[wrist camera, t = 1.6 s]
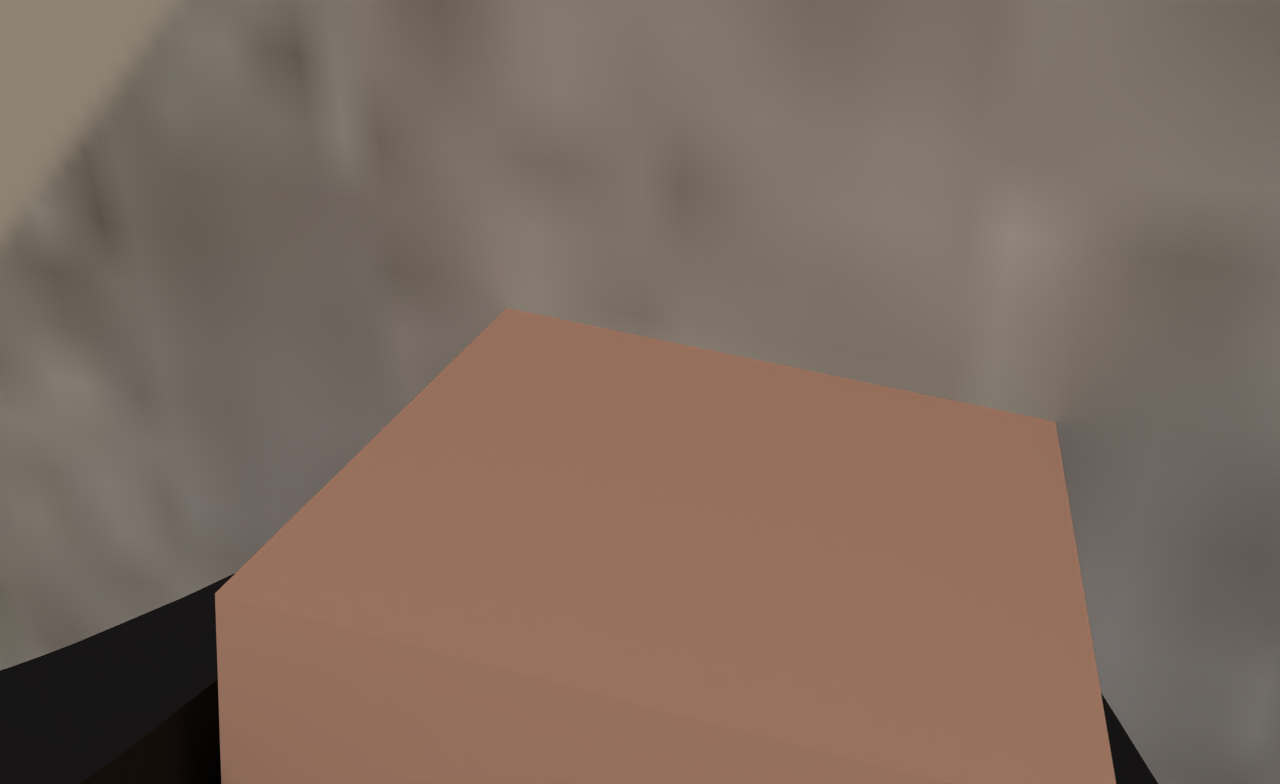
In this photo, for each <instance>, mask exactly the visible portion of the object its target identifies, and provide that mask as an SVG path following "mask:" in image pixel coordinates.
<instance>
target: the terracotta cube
mask: <svg viewBox="0 0 1280 784" xmlns="http://www.w3.org/2000/svg"><path fill="white" fill-rule="evenodd" d="M215 610H216V640H217V670H218V699H219V729H220V759H221V784H1116V780H1115V774H1114V768H1113V762H1112V756H1111V750H1110V744H1109V738H1108V732H1107V726H1106V720H1105V714H1104V708H1103V702H1102V696H1101V690H1100V684H1099V678H1098V672H1097V666H1096V660H1095V654H1094V649H1093V643H1092V637H1091V631H1090V625H1089V619H1088V613H1087V607H1086V601H1085V595H1084V589H1083V583H1082V577H1081V571H1080V565H1079V559H1078V553H1077V547H1076V541H1075V535H1074V529H1073V523H1072V517H1071V511H1070V506H1069V500H1068V494H1067V488H1066V482H1065V476H1064V470H1063V464H1062V458H1061V452H1060V446H1059V440H1058V434H1057V428H1056V422H1054V421H1049V420H1044V419H1039V418H1034V417H1029V416H1025V415H1020V414H1015V413H1010V412H1005V411H1001V410H996V409H991V408H986V407H981V406H976V405H972V404H967V403H962V402H957V401H952V400H947V399H943V398H938V397H933V396H928V395H923V394H918V393H914V392H909V391H904V390H899V389H894V388H890V387H885V386H880V385H875V384H870V383H865V382H861V381H856V380H851V379H846V378H841V377H836V376H832V375H827V374H822V373H817V372H812V371H807V370H803V369H798V368H793V367H788V366H783V365H778V364H774V363H769V362H764V361H759V360H754V359H750V358H745V357H740V356H735V355H730V354H725V353H721V352H716V351H711V350H706V349H701V348H696V347H692V346H687V345H682V344H677V343H672V342H667V341H663V340H658V339H653V338H648V337H643V336H638V335H634V334H629V333H624V332H619V331H614V330H610V329H605V328H600V327H595V326H590V325H585V324H581V323H576V322H571V321H566V320H561V319H556V318H552V317H547V316H542V315H537V314H532V313H527V312H523V311H518V310H513V309H508V308H506V309H505V310H504V311H503V312H502V313H501V314H500V315H499V316H498V317H497V318H496V319H495V320H494V321H493V322H492V323H491V324H490V325H489V326H488V327H487V328H486V329H485V330H484V331H483V332H482V333H481V334H480V335H479V336H478V337H477V338H476V339H475V340H474V341H473V342H471V343H470V344H469V345H468V346H467V347H466V348H465V349H464V350H463V351H462V352H461V353H460V354H459V355H458V356H457V357H456V358H455V359H454V360H453V361H452V362H451V363H450V364H449V365H448V366H447V367H446V368H445V369H444V370H443V371H442V372H441V373H440V374H439V375H438V376H437V377H436V378H435V379H434V380H433V381H432V382H431V383H430V384H429V385H428V386H427V387H425V388H424V389H423V390H422V391H421V392H420V393H419V394H418V395H417V396H416V397H415V398H414V399H413V400H412V401H411V402H410V403H409V404H408V405H407V406H406V407H405V408H404V409H403V410H402V411H401V412H400V413H399V414H398V415H397V416H396V417H395V418H394V419H393V420H392V421H391V422H390V423H389V424H388V425H387V426H386V427H385V428H384V429H383V430H382V431H380V432H379V433H378V434H377V435H376V436H375V437H374V438H373V439H372V440H371V441H370V442H369V443H368V444H367V445H366V446H365V447H364V448H363V449H362V450H361V451H360V452H359V453H358V454H357V455H356V456H355V457H354V458H353V459H352V460H351V461H350V462H349V463H348V464H347V465H346V466H345V467H344V468H343V469H342V470H341V471H340V472H339V473H338V474H337V475H336V476H334V477H333V478H332V479H331V480H330V481H329V482H328V483H327V484H326V485H325V486H324V487H323V488H322V489H321V490H320V491H319V492H318V493H317V494H316V495H315V496H314V497H313V498H312V499H311V500H310V501H309V502H308V503H307V504H306V505H305V506H304V507H303V508H302V509H301V510H300V511H299V512H298V513H297V514H296V515H295V516H294V517H293V518H292V519H291V520H290V521H288V522H287V523H286V524H285V525H284V526H283V527H282V528H281V529H280V530H279V531H278V532H277V533H276V534H275V535H274V536H273V537H272V538H271V539H270V540H269V541H268V542H267V543H266V544H265V545H264V546H263V547H262V548H261V549H260V550H259V551H258V552H257V553H256V554H255V555H254V556H253V557H252V558H251V559H250V560H249V561H248V562H247V563H246V564H245V565H244V566H242V567H241V568H240V569H239V570H238V571H237V572H236V573H235V574H234V575H233V576H232V577H231V578H230V579H229V580H228V581H227V582H226V583H225V584H224V585H223V586H222V587H221V588H220V589H219V590H218V591H217V592H216V593H215Z"/></svg>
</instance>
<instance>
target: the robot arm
mask: <svg viewBox="0 0 1280 784" xmlns="http://www.w3.org/2000/svg"><path fill="white" fill-rule="evenodd" d="M234 574H235V573H234ZM234 574H232V575H230V576H228V577H226V578H224V579H222V580H220V581H218V582H216V583H213V584H211V585H209V586H207V587H205V588H203V589H201V590H199V591H197V592H194V593H192V594H190V595H188V596H186V597H183V598H181V599H179V600H176V601H174V602H172V603H169V604H167V605H165V606H162V607H160V608H158V609H155V610H153V611H150V612H148V613H146V614H143V615H141V616H139V617H136V618H134V619H132V620H129V621H127V622H125V623H122V624H120V625H117V626H115V627H113V628H110V629H108V630H106V631H103V632H101V633H99V634H96V635H94V636H92V637H89V638H87V639H84V640H82V641H80V642H77V643H75V644H72V645H70V646H67V647H64V648H62V649H59V650H57V651H54V652H51V653H49V654H46V655H43V656H41V657H38V658H35V659H32V660H30V661H27V662H24V663H21V664H19V665H16V666H13V667H10V668H7V669H4V670H1V671H0V784H221V759H220V729H219V699H218V670H217V640H216V610H215V593H216V592H217V591H218V590H219V589H220V588H221V587H222V586H223V585H224V584H225V583H226V582H227V581H228V580H229V579H230V578H231V577H232V576H233V575H234ZM1101 696H1102V702H1103V708H1104V714H1105V720H1106V726H1107V732H1108V738H1109V744H1110V750H1111V756H1112V762H1113V768H1114V774H1115V780H1116V784H1158V783H1157V781H1156V780H1155V778H1154V776H1153V775H1152V773H1151V772H1150V770H1149V768H1148V767H1147V765H1146V764H1145V762H1144V761H1143V759H1142V757H1141V756H1140V754H1139V753H1138V751H1137V749H1136V748H1135V746H1134V744H1133V743H1132V741H1131V740H1130V738H1129V736H1128V735H1127V733H1126V732H1125V730H1124V728H1123V727H1122V725H1121V724H1120V722H1119V720H1118V719H1117V717H1116V716H1115V714H1114V712H1113V711H1112V709H1111V708H1110V706H1109V704H1108V703H1107V701H1106V700H1105V698H1104V697H1103V695H1102V693H1101Z"/></svg>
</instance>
